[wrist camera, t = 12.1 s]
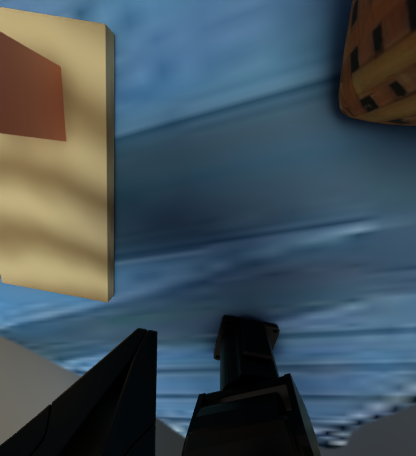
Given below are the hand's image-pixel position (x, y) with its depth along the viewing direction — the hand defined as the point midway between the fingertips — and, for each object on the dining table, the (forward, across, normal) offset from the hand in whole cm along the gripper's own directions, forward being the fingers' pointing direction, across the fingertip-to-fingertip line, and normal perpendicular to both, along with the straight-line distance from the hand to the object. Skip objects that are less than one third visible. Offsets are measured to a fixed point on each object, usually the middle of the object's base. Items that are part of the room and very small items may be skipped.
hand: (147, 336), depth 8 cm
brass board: (+12, +14, -3) cm, 19 cm away
